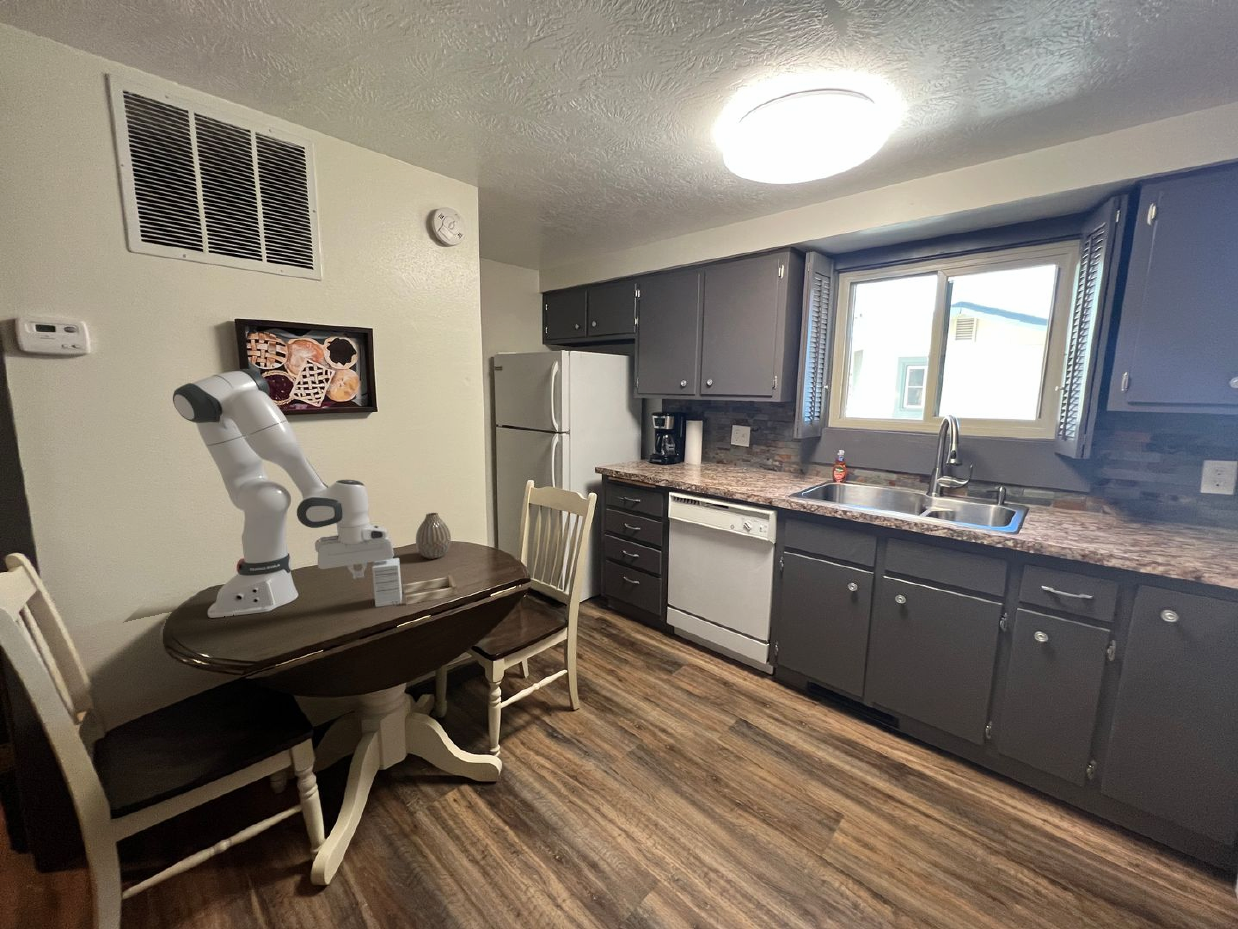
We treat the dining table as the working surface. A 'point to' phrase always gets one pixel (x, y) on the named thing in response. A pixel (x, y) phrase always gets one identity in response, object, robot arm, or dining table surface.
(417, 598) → the u rest
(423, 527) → the vase
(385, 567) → the supplement box
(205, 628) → the dining table surface
